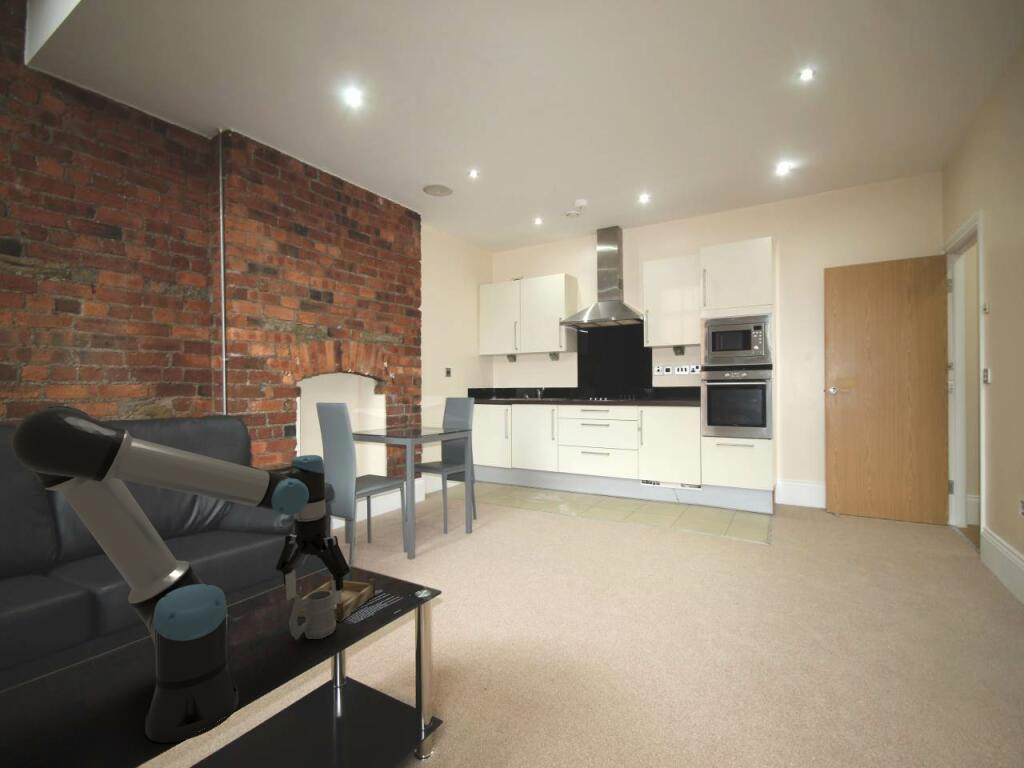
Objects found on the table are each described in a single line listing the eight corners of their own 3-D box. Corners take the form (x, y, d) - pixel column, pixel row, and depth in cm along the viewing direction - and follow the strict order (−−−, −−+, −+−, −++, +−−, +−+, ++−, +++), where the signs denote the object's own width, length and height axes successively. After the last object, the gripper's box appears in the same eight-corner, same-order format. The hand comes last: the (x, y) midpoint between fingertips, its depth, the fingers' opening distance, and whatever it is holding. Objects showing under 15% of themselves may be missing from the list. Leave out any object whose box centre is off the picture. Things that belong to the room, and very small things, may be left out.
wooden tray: (340, 622, 132) (340, 603, 132) (293, 616, 136) (293, 598, 136) (375, 595, 148) (374, 578, 148) (332, 590, 152) (332, 574, 152)
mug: (342, 631, 127) (341, 585, 127) (298, 651, 118) (297, 601, 118) (326, 622, 132) (324, 578, 132) (282, 641, 123) (281, 593, 122)
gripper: (361, 515, 125) (365, 598, 125) (280, 510, 132) (283, 589, 132) (344, 524, 118) (347, 612, 118) (258, 519, 124) (262, 602, 125)
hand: (313, 600), depth 125 cm, fingers open, 13 cm apart
